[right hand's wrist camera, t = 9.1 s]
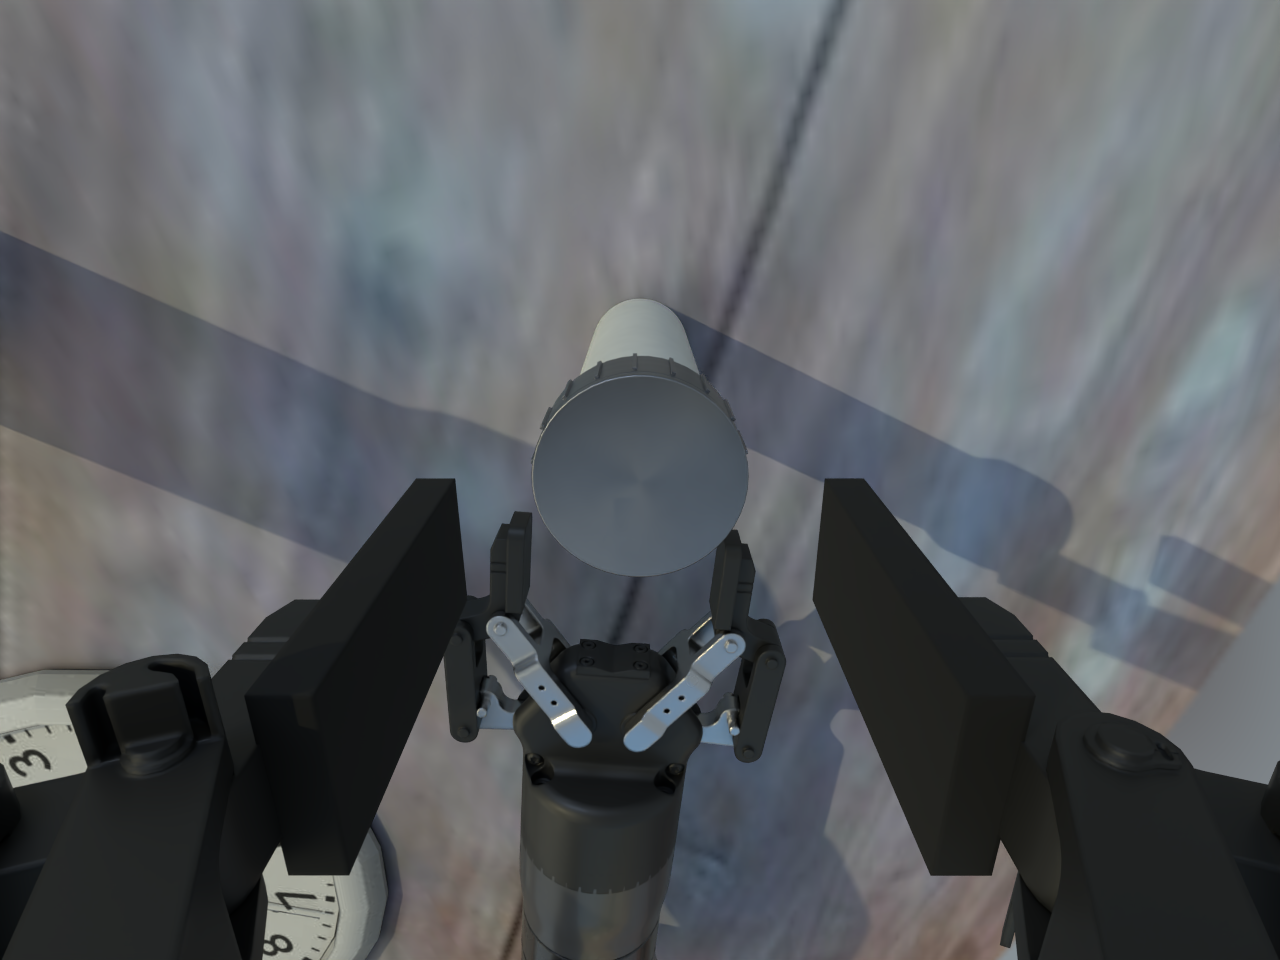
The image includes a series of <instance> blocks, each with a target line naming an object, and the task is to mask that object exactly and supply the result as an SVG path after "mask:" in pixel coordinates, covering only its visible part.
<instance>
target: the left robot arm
mask: <svg viewBox="0 0 1280 960" xmlns="http://www.w3.org/2000/svg"><path fill="white" fill-rule="evenodd" d="M531 539H532V513H530V512H517V511H515V512H514V514H513V517H512V519H511V522H510V524H502V525H501V527H500V529H499V531H498V533H497V535H496V538H495V540H494V543H493V545H492V547H491V554H490V561H491V563H490V595H488V596H486V597H483V598H479V599H478V598H476V597H474V596H467V602H466V604H465V607H464V609H463V611H462V614H461V616H460V618H459V621H458V623H457V625H456V628H455V630H454V632H453V635H452V637H451V639H450V642H449V644H448V646H447V649H446V651H445V653H444V666H445V678H446V689H447V701H448V712H449V723H450V733H451V735H452V737H453V738H454V739H456V740H457V741H460V742H471V741H473V740H474V739H475V738H476V737H477V735H478V732H479V729H514V731H515V733H516V735H517V736H518V738H519V739H520V741H521V743H522V746H523V778H522V805H521V835H520V879H521V887H522V893H523V915H522V960H657V958H656V955H655V946H656V939H657V932H658V925H659V918H660V911H661V907H662V904H663V901H664V898H665V895H666V892H667V889H668V885H669V881H670V876H671V869H672V862H673V856H674V849H675V842H676V835H677V828H678V820H679V814H680V807H681V800H682V793H683V786H684V779H685V772H686V765H687V761H688V759H689V757H690V755H691V754H692V752H693V751H694V750H695V749H696V748H697V747H698V745H699V744H700V743H708V744H716V745H725V746H733V747H734V752H735V756H736V758H737V759H738V760H740V761H742V762H745V763H750V762H754V761H756V760H757V759H759V758H760V756H761V754H762V751H763V747H764V743H765V739H766V736H767V732H768V728H769V725H770V721H771V717H772V714H773V710H774V706H775V702H776V699H777V695H778V691H779V688H780V684H781V680H782V676H783V673H784V669H785V665H786V659H785V655H784V652H783V649H782V646H781V643H780V640H779V636H778V633H777V630H776V627H775V625H774V623H773V622H772V621H770V620H768V619H758V620H755V619H752V618H750V617H749V616H748V613H749V607H750V601H751V595H752V589H753V583H754V577H755V568H754V564H753V560H752V557H751V554H750V551H749V547H748V544H742V543H741V540H740V537H739V533H738V530H731V531H730V533H729V534H728V535H727V537H726V538H725V539H724V540H723V541H722V542H721V543H720V544H719V545H718V547H717V551H716V558H715V565H714V572H713V579H712V586H711V593H710V600H709V602H710V608H711V611H710V612H709V613H708V614H707V615H705V616H704V617H703V618H702V619H701V620H700V621H699V622H698V623H697V624H696V625H695V626H693V627H692V628H691V629H690V630H686V629H684V630H682V631H681V632H679V633H678V634H677V635H676V636H675V637H674V638H673V639H672V640H671V641H670V642H668V643H667V644H666V645H665V646H664V647H663V648H662V649H661V650H660V651H659V652H655V651H653V650H650V644H640V643H629V644H622V645H611V644H608V643H605V642H601V641H598V640H587V639H580V644H578V645H574V646H570V645H569V643H568V642H567V641H566V640H565V638H564V637H563V636H562V634H561V633H560V632H559V631H558V629H557V628H556V627H555V626H554V624H553V623H552V622H551V621H550V620H549V619H543V618H542V617H541V616H540V614H539V613H538V612H537V611H536V609H535V608H534V607H533V606H532V604H531V603H530V602H529V601H528V599H527V594H528V591H529V587H530V566H531ZM488 638H491V639H492V640H493V641H494V643H495V644H496V645H497V646H498V647H499V649H500V650H501V651H502V652H503V653H504V655H505V656H506V657H507V658H508V659H509V661H510V662H511V663H512V665H513V668H514V673H515V676H516V678H517V680H518V681H519V682H520V683H521V685H522V686H523V687H524V688H525V690H524V691H523V692H522V693H521V694H520V696H519V697H518V700H514V699H510V698H508V697H507V696H506V695H505V694H504V693H503V691H502V687H501V685H500V683H499V682H497V678H496V677H495V676H494V675H489V676H487V661H486V644H485V639H488ZM738 657H741V658H742V661H741V665H740V669H739V673H738V677H737V681H736V686H735V690H734V694H733V693H731V692H727V693H725V694H724V696H723V698H722V699H721V700H720V701H719V703H718V705H717V707H716V708H715V709H714V710H713V711H711V712H709V713H701V711H700V708H699V706H698V705H697V703H696V702H697V701H699V700H700V699H701V698H702V697H703V696H704V695H705V694H706V693H707V692H708V691H709V689H710V687H711V685H712V682H713V680H714V678H715V677H716V676H717V675H719V674H720V673H721V672H722V671H723V670H724V669H725V668H727V667H728V666H729V665H730V664H731V663H732V662H733V661H735V660H736V659H737V658H738Z"/></svg>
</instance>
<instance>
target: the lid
mask: <svg viewBox="0 0 1280 960" xmlns="http://www.w3.org/2000/svg"><path fill="white" fill-rule="evenodd" d="M734 420H735V417H734V415H733V412H732V410H731V408H730V405H729V403H728V401H727V399H725V400H723V399H722V398H721V396H720V395H719V393H718V392H717V391H716V390H715V389H714V387H713V386H712V385H711V384H710V383H709V382H708V381H707V380H706V377H705V375H704V374H701V375H699V374H698V373H696V372H694V371H693V370H691V369H690V368H688V367H686V366H684V365H681V364H679V363H677V362H675V361H674V359H673V358H670V357H669V360H668V359H664V358H659V357H653V356H637V353H633V356H627V357H620V358H616V359H612V360H609V361H606V362H603V363H602V361H599V362H597V365H596V366H594V367H592V368H591V369H589V370H587V371H585V372H584V373H582V374H581V375H580V376H578V377H577V378H576V379H574V380H573V381H572V380H571V379H570V380H569V381H568V383H567V385H566V388H565V390H564V391H563V392H562V393H561V395H560V396H559V397H558V399H557V400H556V402H555V404H554V406H553V407H552V408H551V407H549V408H548V411H547V413H546V415H545V417H544V420H543V422H542V424H541V427H540V429H542V430H543V431H542V433H541V436H540V438H539V441H538V443H537V446H536V449H535V452H534V454H533V457H532V459H531V464H532V489H533V494H534V499H535V503H536V506H537V509H538V512H539V514H540V516H541V518H542V520H543V522H544V524H545V525H546V527H547V528H548V530H549V531H550V533H551V534H552V535H553V537H554V538H555V539H556V540H557V541H558V542H559V544H560V545H562V546H563V547H564V548H565V549H566V550H567V551H568V552H569V553H571V554H572V555H573V556H575V557H576V558H578V559H579V560H581V561H582V562H584V563H586V564H588V565H590V566H592V567H594V568H597V569H600V570H602V571H605V572H609V573H613V574H616V575H622V576H630V577H649V576H659V575H663V574H668V573H672V572H675V571H678V570H681V569H683V568H686V567H688V566H690V565H692V564H694V563H696V562H697V561H699V560H701V559H702V558H704V557H705V556H707V555H708V554H709V553H710V552H712V551H713V550H714V549H715V548H716V547H718V545H719V544H720V543H721V542H722V541H723V540H724V539H725V538H726V537H727V535H728V534H729V533H730V531H731V530H732V528H733V527H734V525H735V524H736V522H737V520H738V518H739V516H740V514H741V511H742V508H743V506H744V503H745V499H746V494H747V490H748V477H749V476H748V462H747V457H746V454H748V451H747V448H746V446H745V443H744V441H743V439H742V436H741V434H740V432H739V430H737V428H736V426H735V423H734Z"/></svg>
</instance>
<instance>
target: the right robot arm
mask: <svg viewBox="0 0 1280 960" xmlns="http://www.w3.org/2000/svg"><path fill="white" fill-rule="evenodd" d="M466 602H467V591H466V582H465V572H464V562H463V552H462V542H461V532H460V522H459V512H458V503H457V493H456V483H455V479H416V480H415V481H414V482H413V483H412V485H411V486H410V487H409V488H408V490H407V491H406V492H405V493H404V495H403V496H402V497H401V498H400V500H399V501H398V502H397V503H396V505H395V506H394V507H393V509H392V510H391V511H390V512H389V514H388V515H387V516H386V517H385V519H384V520H383V521H382V522H381V524H380V525H379V526H378V527H377V529H376V530H375V531H374V532H373V534H372V535H371V536H370V537H369V539H368V540H367V541H366V543H365V544H364V545H363V546H362V548H361V549H360V550H359V551H358V553H357V554H356V555H355V556H354V558H353V559H352V560H351V561H350V563H349V564H348V565H347V566H346V568H345V569H344V570H343V571H342V573H341V574H340V575H339V577H338V578H337V579H336V580H335V582H334V583H333V584H332V585H331V587H330V588H329V589H328V590H327V592H326V593H325V594H324V595H323V597H322V598H321V599H320V600H294V601H292V602H290V603H289V604H287V605H286V606H284V607H282V608H281V609H279V610H277V611H276V612H274V613H273V614H271V615H269V616H268V617H266V618H265V619H264V620H263V622H262V623H261V624H260V625H259V626H258V627H257V628H256V629H255V631H254V632H253V633H252V634H251V635H250V636H249V637H248V641H247V642H244V643H243V644H242V645H241V646H240V647H239V649H238V650H237V651H236V652H235V653H234V654H233V655H232V660H228V661H227V662H226V663H225V664H224V665H223V667H222V668H221V669H220V670H219V671H218V672H217V673H216V674H215V676H214V677H213V678H212V679H211V676H210V673H209V669H208V665H207V664H206V663H205V662H203V661H202V660H200V659H199V658H197V657H195V656H189V655H182V654H169V655H159V656H151V657H148V658H144V659H140V660H136V661H133V662H129V663H126V664H123V665H121V666H119V667H117V668H114V669H112V670H110V671H108V672H105V673H103V674H101V675H99V676H98V677H96V678H95V679H93V680H92V681H90V682H89V683H87V684H86V685H84V686H83V687H81V688H80V689H78V690H77V692H76V693H75V694H74V695H73V696H72V697H71V699H70V700H69V701H68V702H67V703H66V704H65V706H66V709H67V711H68V714H69V717H70V720H71V723H72V725H73V728H74V731H75V734H76V736H77V739H78V742H79V745H80V748H81V750H82V753H83V756H84V759H85V761H86V764H87V769H86V771H85V772H83V773H79V774H75V775H70V776H66V777H61V778H56V779H52V780H47V781H42V782H38V783H33V784H28V785H24V786H19V787H15V788H13V787H12V784H11V782H10V779H9V777H8V774H7V772H6V770H5V767H4V765H3V764H1V763H0V960H262V959H263V949H264V939H265V929H266V920H267V910H268V896H267V890H266V885H265V881H264V877H263V871H264V869H265V868H266V866H267V864H268V862H269V861H270V859H271V857H272V855H273V853H274V852H275V850H276V848H277V846H278V844H279V843H280V844H281V848H282V852H283V856H284V860H285V864H286V868H287V872H288V876H349V875H350V873H351V870H352V868H353V866H354V863H355V861H356V859H357V856H358V854H359V852H360V849H361V847H362V845H363V842H364V840H365V838H366V835H367V833H368V831H369V828H370V826H371V824H372V821H373V819H374V817H375V814H376V812H377V810H378V807H379V805H380V803H381V800H382V798H383V796H384V793H385V791H386V789H387V786H388V784H389V782H390V779H391V777H392V775H393V772H394V770H395V768H396V765H397V763H398V761H399V758H400V756H401V754H402V751H403V749H404V747H405V744H406V742H407V740H408V737H409V735H410V733H411V730H412V728H413V726H414V723H415V721H416V719H417V716H418V714H419V712H420V709H421V707H422V705H423V702H424V700H425V698H426V695H427V693H428V691H429V688H430V686H431V684H432V681H433V679H434V677H435V674H436V672H437V670H438V667H439V665H440V663H441V660H442V658H443V656H444V653H445V651H446V649H447V646H448V644H449V642H450V639H451V637H452V635H453V632H454V630H455V628H456V625H457V623H458V621H459V618H460V616H461V614H462V611H463V609H464V607H465V604H466ZM813 602H814V604H815V607H816V609H817V611H818V614H819V616H820V618H821V621H822V623H823V625H824V628H825V630H826V632H827V635H828V637H829V639H830V642H831V644H832V646H833V649H834V651H835V653H836V656H837V658H838V660H839V663H840V665H841V667H842V670H843V672H844V674H845V677H846V679H847V681H848V684H849V686H850V688H851V691H852V693H853V695H854V698H855V700H856V702H857V705H858V707H859V709H860V712H861V714H862V716H863V719H864V721H865V723H866V726H867V728H868V730H869V733H870V735H871V737H872V740H873V742H874V744H875V747H876V749H877V751H878V754H879V756H880V758H881V761H882V763H883V765H884V768H885V770H886V772H887V775H888V777H889V779H890V782H891V784H892V786H893V789H894V791H895V793H896V796H897V798H898V800H899V803H900V805H901V807H902V810H903V812H904V814H905V817H906V819H907V821H908V824H909V826H910V828H911V831H912V833H913V835H914V838H915V840H916V842H917V845H918V847H919V849H920V852H921V854H922V856H923V859H924V861H925V863H926V866H927V868H928V870H929V873H930V875H931V876H992V872H993V868H994V864H995V860H996V856H997V852H998V848H999V844H1000V840H1001V841H1002V843H1003V844H1004V846H1005V848H1006V850H1007V851H1008V853H1009V855H1010V857H1011V859H1012V860H1013V862H1014V864H1015V866H1016V867H1017V869H1018V873H1017V877H1016V881H1015V885H1014V888H1013V892H1012V896H1011V900H1010V904H1009V907H1008V911H1007V915H1006V919H1005V922H1004V926H1003V930H1002V936H1001V942H1000V945H1001V946H1004V947H1007V948H1010V947H1011V943H1012V939H1013V936H1014V932H1015V937H1016V946H1017V956H1018V960H1280V761H1278V762H1277V765H1276V767H1275V770H1274V772H1273V774H1272V777H1271V779H1270V782H1269V784H1268V785H1266V784H1262V783H1257V782H1252V781H1248V780H1243V779H1238V778H1234V777H1229V776H1224V775H1220V774H1215V773H1210V772H1206V771H1202V770H1198V769H1194V768H1193V766H1192V764H1191V763H1190V762H1189V760H1188V759H1187V757H1186V756H1185V755H1184V753H1183V752H1182V751H1181V749H1179V748H1178V747H1177V746H1176V745H1174V744H1173V743H1172V742H1170V741H1169V740H1168V739H1167V738H1165V737H1164V736H1163V735H1161V734H1160V733H1158V732H1156V731H1154V730H1152V729H1150V728H1148V727H1146V726H1144V725H1142V724H1140V723H1138V722H1136V721H1133V720H1130V719H1127V718H1124V717H1120V716H1117V715H1114V714H1111V713H1102V712H1101V711H1100V710H1099V709H1098V708H1097V707H1096V706H1095V705H1094V703H1093V702H1092V701H1091V700H1090V699H1089V698H1088V697H1087V696H1086V695H1085V693H1084V692H1083V691H1082V690H1081V689H1080V688H1079V687H1078V686H1077V684H1076V683H1075V682H1074V681H1073V680H1072V679H1071V678H1070V677H1069V676H1068V674H1067V673H1066V672H1065V671H1064V670H1063V669H1062V668H1061V667H1060V665H1059V664H1058V663H1057V662H1056V661H1055V660H1054V659H1053V658H1052V657H1049V656H1048V652H1047V651H1046V650H1045V649H1044V648H1043V646H1042V645H1041V644H1040V643H1039V642H1038V641H1037V640H1033V635H1032V634H1031V633H1030V632H1029V631H1028V630H1027V629H1026V628H1025V626H1024V625H1023V624H1022V623H1021V622H1020V621H1019V620H1018V619H1017V617H1016V616H1015V615H1013V614H1012V613H1010V612H1009V611H1007V610H1005V609H1004V608H1002V607H1000V606H999V605H997V604H995V603H994V602H992V601H991V600H989V599H987V598H986V597H957V595H956V594H955V593H954V592H953V590H952V589H951V588H950V587H949V585H948V584H947V583H946V582H945V580H944V579H943V578H942V577H941V575H940V574H939V573H938V571H937V570H936V569H935V568H934V566H933V565H932V564H931V563H930V561H929V560H928V559H927V558H926V556H925V555H924V554H923V553H922V551H921V550H920V549H919V548H918V546H917V545H916V544H915V543H914V541H913V540H912V539H911V537H910V536H909V535H908V534H907V532H906V531H905V530H904V529H903V527H902V526H901V525H900V524H899V522H898V521H897V520H896V519H895V517H894V516H893V515H892V514H891V512H890V511H889V510H888V509H887V507H886V506H885V505H884V503H883V502H882V501H881V500H880V498H879V497H878V496H877V495H876V493H875V492H874V491H873V490H872V488H871V487H870V486H869V485H868V483H867V482H866V481H865V480H864V479H825V483H824V493H823V503H822V512H821V522H820V532H819V542H818V552H817V562H816V572H815V582H814V591H813Z"/></svg>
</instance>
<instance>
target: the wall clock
mask: <svg viewBox="0 0 1280 960" xmlns="http://www.w3.org/2000/svg"><path fill="white" fill-rule="evenodd" d="M108 671H110V670H41V671H37V672H32V673H28V674H24V675H19V676H15V677H11V678H7V679H2V680H0V763H1V764H3V765H4V767H5V770H6V772H7V774H8V777H9V779H10V782H11V784H12V787H13V788H15V787H19V786H24V785H28V784H33V783H38V782H42V781H47V780H52V779H56V778H61V777H66V776H70V775H75V774H79V773H83V772H85V771H86V769H87V764H86V761H85V759H84V756H83V753H82V750H81V748H80V745H79V742H78V739H77V736H76V734H75V731H74V728H73V725H72V723H71V720H70V717H69V714H68V711H67V709H66V706H65V704H66V703H67V702H68V701H69V700H70V699H71V697H72V696H73V695H74V694H75V693H76V692H77V690H78V689H80V688H81V687H83V686H84V685H86V684H87V683H89V682H90V681H92V680H93V679H95V678H96V677H98V676H99V675H101V674H103V673H105V672H108ZM263 877H264V881H265V885H266V890H267V896H268V910H267V920H266V929H265V939H264V949H263V959H262V960H365V959H366V957H367V956H368V954H369V953H370V951H371V950H372V948H373V946H374V945H375V943H376V942H377V940H378V938H379V935H380V931H381V926H382V921H383V916H384V911H385V907H386V902H387V897H388V888H387V882H386V876H385V870H384V864H383V858H382V852H381V847H380V845H379V843H378V841H377V839H376V837H375V835H374V833H373V831H372V829H371V828H369V831H368V833H367V835H366V838H365V840H364V842H363V845H362V847H361V849H360V852H359V854H358V856H357V859H356V861H355V863H354V866H353V868H352V870H351V873H350V875H349V876H288V872H287V868H286V864H285V860H284V856H283V852H282V848H281V844H280V843H279V844H278V846H277V848H276V850H275V852H274V853H273V855H272V857H271V859H270V861H269V862H268V864H267V866H266V868H265V869H264V871H263Z"/></svg>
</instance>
